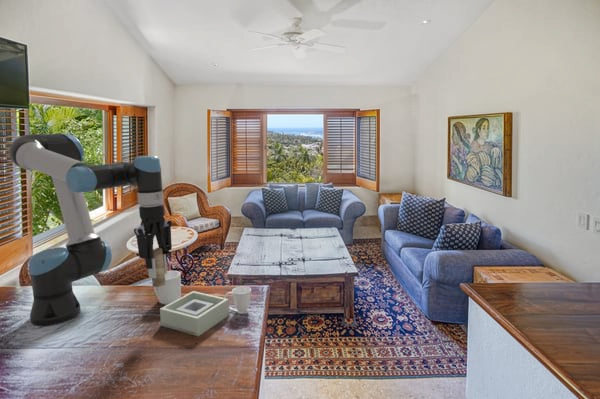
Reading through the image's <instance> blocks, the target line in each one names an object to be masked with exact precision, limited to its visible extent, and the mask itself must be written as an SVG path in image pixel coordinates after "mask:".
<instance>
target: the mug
mask: <svg viewBox="0 0 600 399" xmlns="http://www.w3.org/2000/svg"><path fill="white" fill-rule="evenodd" d="M152 287H153V291H154V294H155V295H156V297H157V298H158V303H161V305H163V304H164V306H166V305H168V304H170V303H172V302H173V301H175V300H177V299H179V298H181V297H182V276H181V272H180V271H178V270H167V273H166V274H165V285H163V286H160V287H154V286H153V285H152Z"/></svg>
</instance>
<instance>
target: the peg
mask: <svg viewBox="0 0 600 399" xmlns="http://www.w3.org/2000/svg"><path fill="white" fill-rule="evenodd" d="M152 258H155V267H156V277H157V278H151V282H152V287H153V286H154V287H156V288H157V287H160V286H163V285H165V273H164V262H163V252H162V248H159V247H153V255H152Z"/></svg>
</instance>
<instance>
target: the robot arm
mask: <svg viewBox="0 0 600 399" xmlns="http://www.w3.org/2000/svg"><path fill="white" fill-rule="evenodd" d="M8 149H9V150H8V155H9V158H10V160H11V162H12V163H13V164H15V165H16V166H17V167H18V168H20V169H22V170H25V171H37V172H40V173H42V174H45V175H47V176H49V177H51V180H52V183H53V187H54V191H55V194H56V197H57V201H58V205H59V207H60V208H59V209H60V212H61V215H62V219H63V222H64V227H65V230H66V234H67V236H68V241H67V242H66V243H65V247H62V246H61V247H60V246H59V247H53V248H47V249H45V250H41V251H40V252H37V253H35V254H34V255H32V256H31V257H30V259H29V263H28V264H29V265H28V266H29V267H28V268H29V269H28V273H29V276H30V282H31V288H32V289H31V290H32V295H33V302H32V306H31V310H30V314H29V319H30V323H31V325H33V326H39V327H47V326H54V325H58V324H63V323H66V322H68V321H70V320H72V319H75V318H76V317H78V316H79V315H80V313H81V312H82V310H81V309H82V308H81V304H80V302H79V300H78V298H77V296H76V294H75V293H74V291H73V282H76V281H79V280H82V279H85V278H87V277H91V276H94V275H97V274H98V275H99V273H102V272H105V271H106V270H107V269H108V268H109V267H110V265H111V263H112V260H113V259H112V258H113V254H112V249H111V247H110V245H109V243H108V242H107V241H105V240H102V239H101V236H100V235H98V233H95V231H94V226H93V222H92V221H91V216H90V213H89V211H90V210H89V209H88V205H87V201H86V198H85V194H84V193H90V192H94V191H101V190H107V189H113V188H120V187H128V186H130V187H131V186H133V187H134V186H135V187H136V188H137V192H136V193H137V202H138V206H139V207H138V212H139V218H140V220H141V223H140V226H138V227H137V228H134V229H133V232H134V235H135V236H136V243H137V249H138V257H139V259H144V260H145V266H146V267H145V268H146V269H147V272H148V278H151V279H152V278H157V277H156V267H155V258H152V255H153V248H154V238H155V239H156V244H157V245H158V246H157V247H158V248H162V252H163V262H164V273H165V274H166V273H167V271H168V264H167V263H168V261H169V260H168V254H170V251H171V250H172V248H173V247H172V246H173V245H172V230H171V229H172V222H173V221H171V220H166V219H165V217H164V216H165V213H166V212H165V205H164V191H163V180H162V167H161V162H160V158H159V156H156V155H144V156H143V155H141V156H136V157H134V161H133V162H127V161H120V162H119V161H117V162H113V163H107V164H95V165H93V164H88V163H86V162H83V161H84V160H85V149H84V147H83V145H82V142H81V141H80V140H79V139H78V138H77V137H75V136H74V135H73V134H69V133H42V134H40V133H39V134H37V133H36V134H35V133H33V134H32V133H31V134H24V135H21V136H19V137H17V138H15V139H14V140H13V142H12V143H11V144H10V146H9V148H8Z"/></svg>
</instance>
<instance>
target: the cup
mask: <svg viewBox="0 0 600 399" xmlns="http://www.w3.org/2000/svg"><path fill="white" fill-rule="evenodd" d="M251 288H252V287H250V286H245V285H243V286H236V287H234V288H233V289H231V291H228V292H226V294H224V297H223V298H226V297H227V295H232V297H233V301H234V306H235V308H233V307H231V306H230V305H229V310H231V311H234V312H236V314H239V315H244V314H247V313H248V312H249V308H250V305H251V297H252V289H251ZM226 299H227V298H226Z"/></svg>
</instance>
